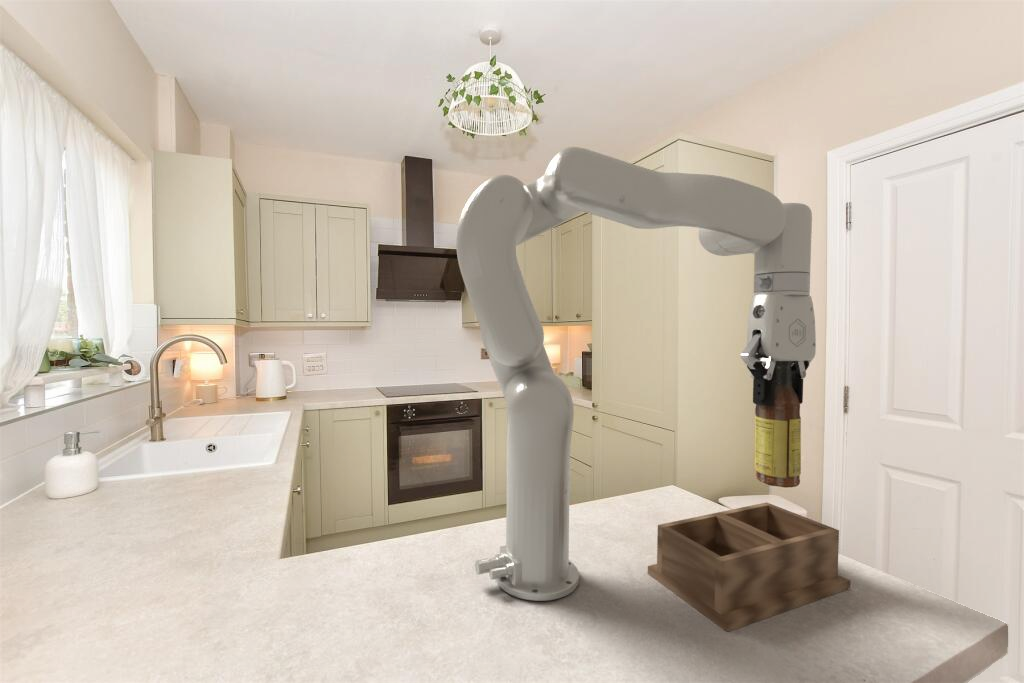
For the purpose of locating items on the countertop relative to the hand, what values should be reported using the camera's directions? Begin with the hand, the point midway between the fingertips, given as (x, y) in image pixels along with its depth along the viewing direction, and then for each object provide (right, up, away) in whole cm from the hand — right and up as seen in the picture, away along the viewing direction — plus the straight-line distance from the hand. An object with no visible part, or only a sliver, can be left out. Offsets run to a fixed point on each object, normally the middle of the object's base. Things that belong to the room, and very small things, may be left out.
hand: (777, 402), depth 72 cm
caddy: (-6, -27, -2) cm, 28 cm away
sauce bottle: (0, -13, +1) cm, 13 cm away
